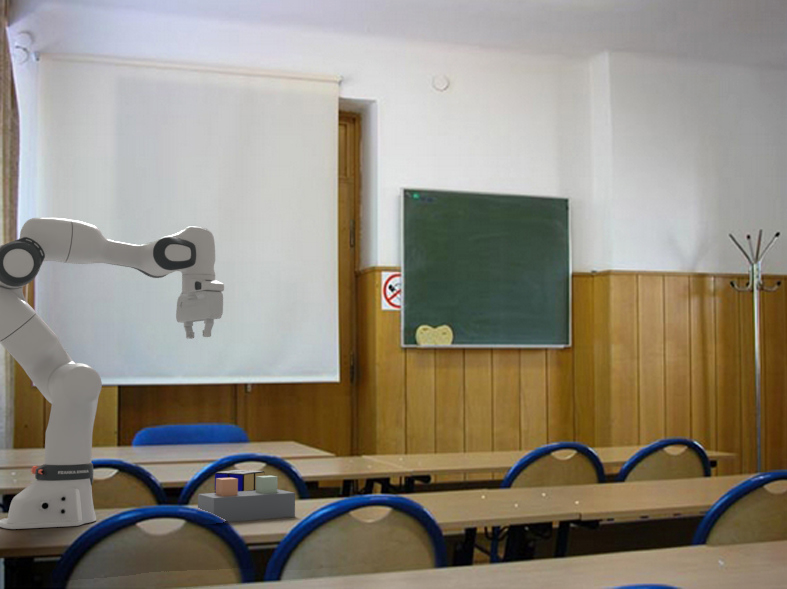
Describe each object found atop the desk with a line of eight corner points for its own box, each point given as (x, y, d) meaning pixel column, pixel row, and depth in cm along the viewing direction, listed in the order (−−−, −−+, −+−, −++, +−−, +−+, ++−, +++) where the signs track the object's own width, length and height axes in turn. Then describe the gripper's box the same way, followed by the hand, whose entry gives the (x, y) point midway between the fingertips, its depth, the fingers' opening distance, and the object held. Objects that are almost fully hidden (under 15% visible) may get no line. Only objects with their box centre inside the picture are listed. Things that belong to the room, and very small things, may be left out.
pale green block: (262, 500, 238) (262, 477, 239) (255, 498, 242) (256, 476, 242) (277, 499, 240) (277, 476, 241) (270, 497, 244) (270, 475, 245)
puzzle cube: (213, 509, 255) (214, 472, 256) (235, 505, 264) (236, 469, 265) (243, 511, 250) (243, 473, 251) (264, 507, 259) (265, 470, 260)
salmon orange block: (221, 503, 232) (222, 479, 233) (215, 501, 236) (215, 478, 236) (237, 502, 235) (237, 478, 235) (231, 500, 238) (231, 477, 239)
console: (213, 523, 227) (214, 498, 228) (197, 517, 237) (198, 493, 237) (294, 516, 239) (295, 492, 239) (276, 511, 248) (276, 489, 249)
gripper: (170, 289, 258) (170, 339, 257) (206, 282, 242) (205, 335, 241) (191, 290, 262) (190, 339, 261) (227, 284, 246) (227, 336, 245)
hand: (198, 337), depth 251 cm, fingers open, 8 cm apart
